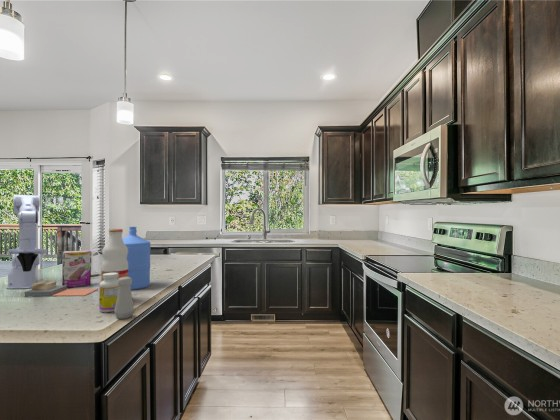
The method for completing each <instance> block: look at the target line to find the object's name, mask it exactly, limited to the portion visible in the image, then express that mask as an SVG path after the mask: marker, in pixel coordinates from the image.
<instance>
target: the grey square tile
mask: <svg viewBox="0 0 560 420" xmlns="http://www.w3.org/2000/svg"><path fill="white" fill-rule="evenodd" d="M66 289H68V288H67V285H62V284H61V285H56V287H54V288H52V289H49V290H32V289H29V290H26V291H24V297H25V298H26V297H27V298H28V297H29V298H32V297H34V298H35V297H36V298H39V297H42V298H43V297H45V298H46V297H53V296H52V295H54V294H56V293H59V292H61V291H64V290H66Z"/></svg>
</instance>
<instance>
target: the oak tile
mask: <svg viewBox="0 0 560 420" xmlns="http://www.w3.org/2000/svg"><path fill="white" fill-rule="evenodd" d="M56 286H57V281H56V280H46V281H45V280H42V281H39V282H36V283H34V284H32V287H31V290H49V289H52V288H54V287H56Z"/></svg>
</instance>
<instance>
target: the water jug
mask: <svg viewBox="0 0 560 420" xmlns="http://www.w3.org/2000/svg"><path fill="white" fill-rule="evenodd" d="M122 240H123V242H124V244H125V245H126V246H127V248H128V255H127V261H128V277H131V278H132V284H130V288H131V291H134V290H136V291H137V290H141V289H145V288H148V287H149V286H150V285H151V279H150V277H151V241H150V240H147V239H145V238H143V237H140V236H138V235H137V226H129V229H128V235H127V236H126V237H122Z"/></svg>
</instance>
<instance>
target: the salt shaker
mask: <svg viewBox="0 0 560 420" xmlns="http://www.w3.org/2000/svg"><path fill="white" fill-rule="evenodd" d="M130 284H132V278H131V277H122V278H119V279H118V285H119V286H120V287H119V292H118V297H117V301H116V306H115V310H114V314H115V316H116V318H117V319H118V320H119V319H120V320H124V319H125V320H126V319H129V318H132V316H133V313H134V310H135V307H134V302H133V296H132V295H133V294H132V290H131V288H130Z"/></svg>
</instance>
